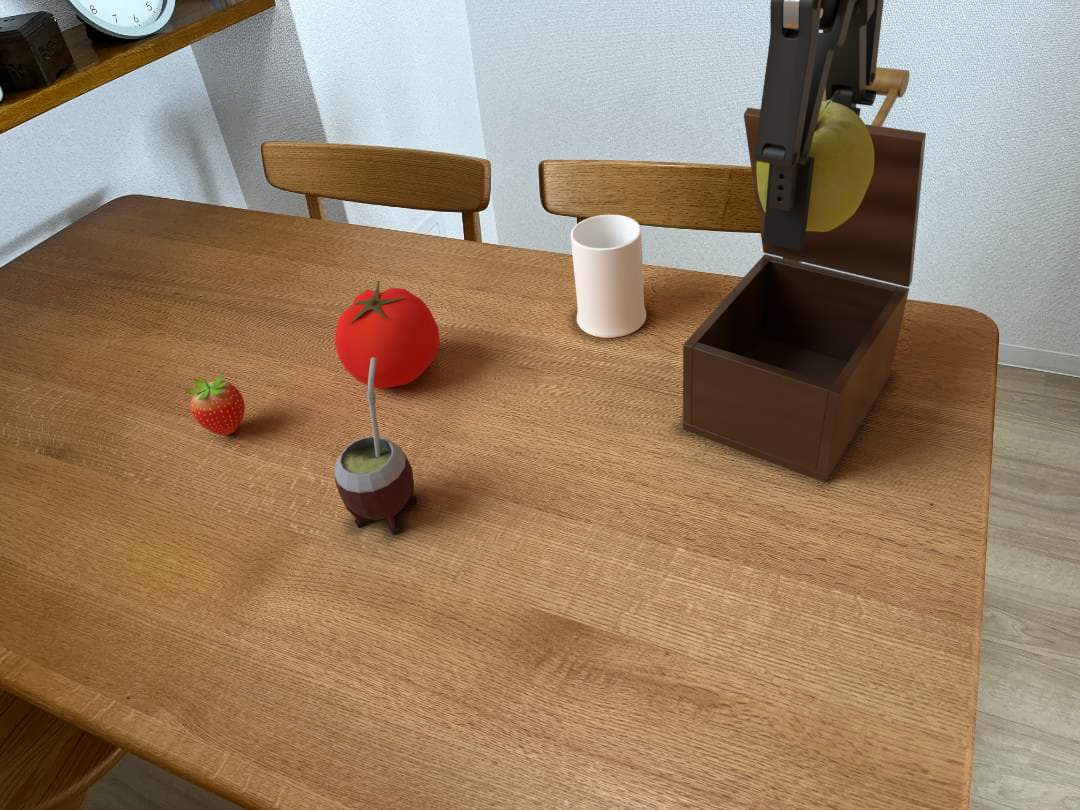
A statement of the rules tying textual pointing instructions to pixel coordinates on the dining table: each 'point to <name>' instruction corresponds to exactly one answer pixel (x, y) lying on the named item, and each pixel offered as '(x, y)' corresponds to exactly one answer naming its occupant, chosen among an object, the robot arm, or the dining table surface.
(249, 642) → the dining table surface
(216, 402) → the fruit
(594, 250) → the mug
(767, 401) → the chest
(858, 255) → the lid
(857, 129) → the apple
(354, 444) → the mate gourd
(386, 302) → the tomato
